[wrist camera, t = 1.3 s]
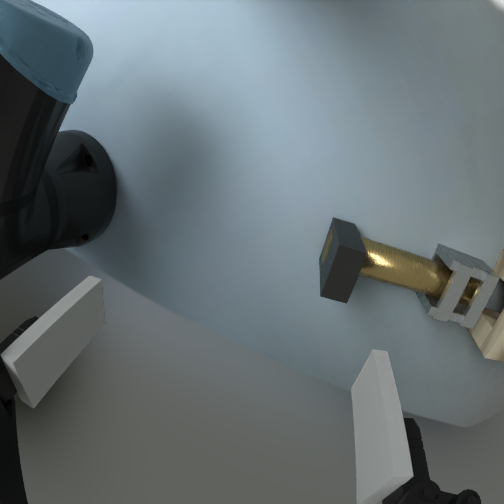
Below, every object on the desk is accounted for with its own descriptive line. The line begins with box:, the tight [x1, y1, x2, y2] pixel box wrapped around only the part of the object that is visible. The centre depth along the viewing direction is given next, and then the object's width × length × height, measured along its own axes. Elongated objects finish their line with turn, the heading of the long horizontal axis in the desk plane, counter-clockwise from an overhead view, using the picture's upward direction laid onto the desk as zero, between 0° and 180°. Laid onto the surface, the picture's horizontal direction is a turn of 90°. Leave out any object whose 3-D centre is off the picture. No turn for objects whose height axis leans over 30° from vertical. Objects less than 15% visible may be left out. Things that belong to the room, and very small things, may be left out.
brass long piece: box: [319, 218, 480, 306], centre depth 28 cm, size 18×5×8 cm, turn 77°
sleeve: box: [416, 244, 500, 329], centre depth 29 cm, size 7×6×5 cm
